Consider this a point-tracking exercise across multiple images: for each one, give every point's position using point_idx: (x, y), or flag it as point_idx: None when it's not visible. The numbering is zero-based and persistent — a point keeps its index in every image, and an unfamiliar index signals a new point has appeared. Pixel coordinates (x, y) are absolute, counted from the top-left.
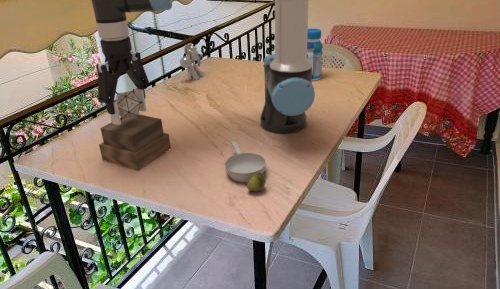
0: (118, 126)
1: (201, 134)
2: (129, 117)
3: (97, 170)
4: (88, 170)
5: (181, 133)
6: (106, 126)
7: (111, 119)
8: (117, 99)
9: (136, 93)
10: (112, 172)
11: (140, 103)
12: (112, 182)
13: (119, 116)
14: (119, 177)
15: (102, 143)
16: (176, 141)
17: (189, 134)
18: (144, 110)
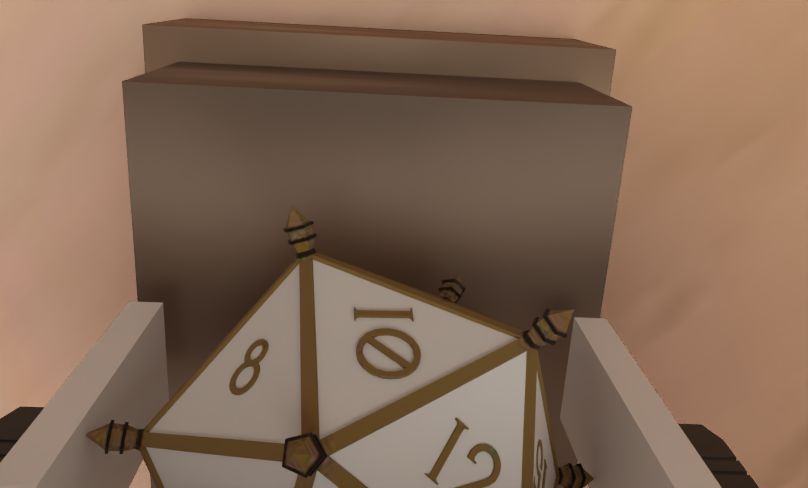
0: (252, 250)
1: (790, 440)
2: (496, 198)
3: (54, 104)
4: (15, 36)
5: (775, 307)
6: (189, 118)
7: (110, 329)
8: (219, 483)
9: (647, 485)
10: (94, 227)
11: (561, 467)
12: (8, 315)
13: (134, 467)
14: (75, 314)
15: (177, 39)
16: (644, 348)
17: (772, 368)
18: (563, 422)
